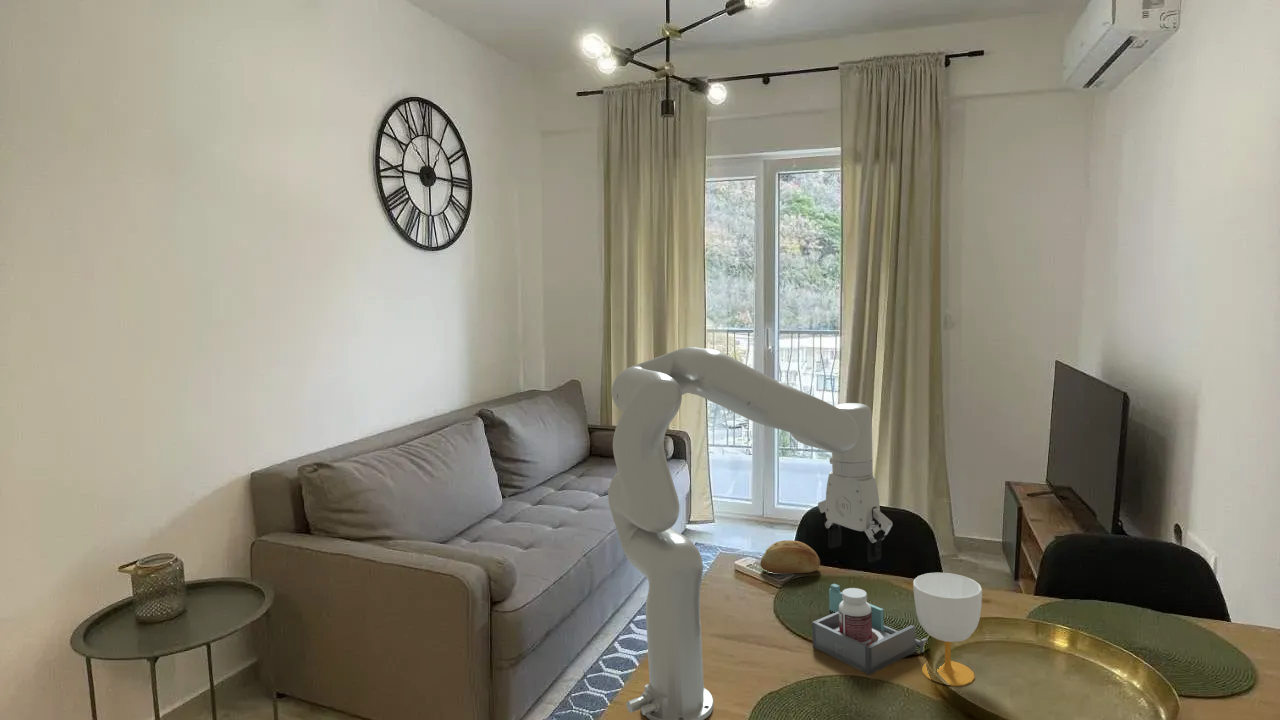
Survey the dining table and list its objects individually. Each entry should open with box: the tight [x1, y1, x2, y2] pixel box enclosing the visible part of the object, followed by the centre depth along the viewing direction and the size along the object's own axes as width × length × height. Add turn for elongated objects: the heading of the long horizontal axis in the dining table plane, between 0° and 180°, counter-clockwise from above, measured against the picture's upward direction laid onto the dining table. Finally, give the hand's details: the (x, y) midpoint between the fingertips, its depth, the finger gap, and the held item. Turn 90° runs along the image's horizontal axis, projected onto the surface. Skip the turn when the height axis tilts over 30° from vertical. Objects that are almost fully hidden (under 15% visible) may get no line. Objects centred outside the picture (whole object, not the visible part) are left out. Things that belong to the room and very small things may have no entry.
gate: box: [828, 583, 885, 632], centre depth 159 cm, size 1×14×6 cm, turn 34°
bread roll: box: [759, 539, 821, 574], centre depth 187 cm, size 10×15×8 cm, turn 87°
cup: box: [912, 572, 983, 687], centre depth 136 cm, size 12×12×17 cm
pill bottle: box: [839, 587, 872, 645], centre depth 146 cm, size 6×6×11 cm
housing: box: [811, 611, 928, 676], centre depth 148 cm, size 17×16×5 cm
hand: (854, 553), depth 144 cm, fingers open, 9 cm apart
